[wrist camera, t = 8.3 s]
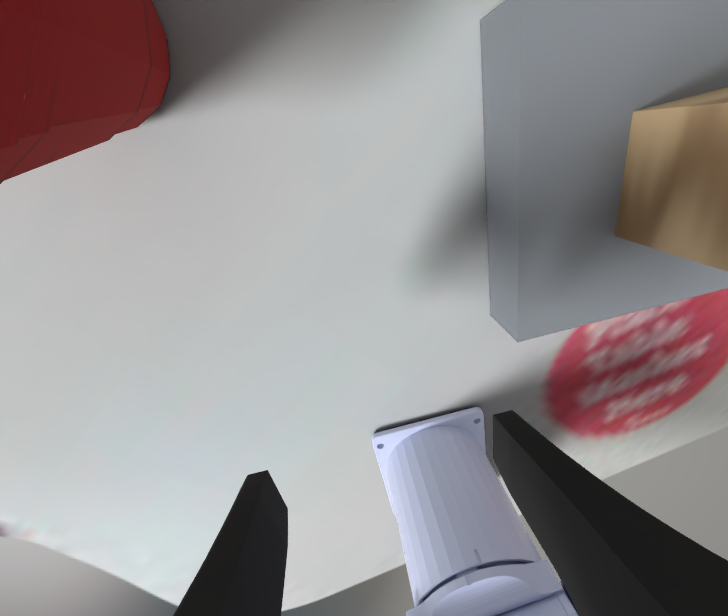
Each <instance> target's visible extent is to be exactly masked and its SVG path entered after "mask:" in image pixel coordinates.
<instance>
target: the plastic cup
mask: <svg viewBox="0 0 728 616" xmlns="http://www.w3.org/2000/svg"><path fill="white" fill-rule="evenodd" d="M169 78H170V65H169V52H168V40H167V38H166V34H165V31H164V29H163V26H162V24H161V21H160V19H159V16H158V14H157V12H156V9H155V7H154V4H153V2H152V0H0V184H1V183H2V182H3V181H4V180H7V179H9V178H12V177H14V176H17V175H20V174H22V173H25V172H27V171H30V170H33V169H35V168H38V167H40V166H43V165H45V164H48V163H51V162H53V161H56V160H58V159H61V158H64V157H66V156H69V155H71V154H74V153H77V152H79V151H82V150H84V149H87V148H90V147H92V146H95V145H97V144H100V143H103V142H105V141H108V140H110V139H111V138H112V137H113V136H114V135H115V134H117V133H120V132H124V131H127V130H130V129H133V128H136V127H138V126H139V125H140V124H141V123H143V122H144V121H145V120H146V119H147V118H148V117H149V116H150V115H151V114H152V113H153V112H154V111H155V110H156V109H157V108H158V107H159V106H160V105H161V103H162V100H163V97H164V94H165V91H166V87H167V84H168V81H169Z"/></svg>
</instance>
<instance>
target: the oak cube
mask: <svg viewBox="0 0 728 616" xmlns="http://www.w3.org/2000/svg"><path fill="white" fill-rule="evenodd" d="M615 236H616V237H619V238H622V239H626V240H629V241H632V242H635V243H638V244H641V245H645V246H648V247H651V248H654V249H657V250H660V251H664V252H667V253H670V254H673V255H676V256H679V257H682V258H686V259H689V260H692V261H695V262H698V263H701V264H705V265H708V266H711V267H714V268H717V269H720V270H723V271H727V272H728V87H727V88H723V89H719V90H715V91H711V92H707V93H703V94H699V95H695V96H692V97H688V98H684V99H680V100H676V101H672V102H668V103H664V104H661V105H657V106H653V107H649V108H645V109H641V110H637V111H633V115H632V122H631V128H630V135H629V142H628V149H627V155H626V162H625V169H624V176H623V183H622V189H621V196H620V203H619V210H618V217H617V223H616V230H615Z"/></svg>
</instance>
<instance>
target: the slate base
mask: <svg viewBox="0 0 728 616" xmlns="http://www.w3.org/2000/svg"><path fill="white" fill-rule="evenodd" d="M480 29H481V57H482V86H483V115H484V144H485V172H486V201H487V230H488V258H489V287H490V315H491V316H492V317H493V318H494V319H495V320H496V321H497V322H498V323H499V324H500V325H501V326H502V327H503V328H504V329H505V330H506V331H507V332H508V333H509V334H510V335H511V336H512V337H513V338H514V339H515V340H516V341H517V342H520V341H524V340H528V339H532V338H536V337H540V336H544V335H548V334H552V333H555V332H559V331H563V330H567V329H571V328H575V327H579V326H583V325H586V324H590V323H594V322H598V321H602V320H606V319H610V318H614V317H618V316H621V315H625V314H629V313H633V312H637V311H641V310H645V309H649V308H652V307H656V306H660V305H664V304H668V303H672V302H676V301H680V300H684V299H687V298H691V297H695V296H699V295H703V294H707V293H711V292H715V291H719V290H722V289H726V288H728V272H727V271H723V270H720V269H717V268H714V267H711V266H708V265H705V264H701V263H698V262H695V261H692V260H689V259H686V258H682V257H679V256H676V255H673V254H670V253H667V252H664V251H660V250H657V249H654V248H651V247H648V246H645V245H641V244H638V243H635V242H632V241H629V240H626V239H622V238H619V237H616V236H615V230H616V223H617V217H618V210H619V203H620V196H621V189H622V183H623V176H624V169H625V162H626V155H627V149H628V142H629V135H630V128H631V122H632V115H633V111H637V110H641V109H645V108H649V107H653V106H657V105H661V104H664V103H668V102H672V101H676V100H680V99H684V98H688V97H692V96H695V95H699V94H703V93H707V92H711V91H715V90H719V89H723V88H727V87H728V0H506V1H505V2H504V3H502V4H501V5H500V6H498V7H497V8H496V9H494V10H493V11H492V12H490V13H489V14H488V15H486V16H485V17H484V18H482V19H481V20H480Z"/></svg>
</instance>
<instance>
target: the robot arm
mask: <svg viewBox="0 0 728 616" xmlns="http://www.w3.org/2000/svg"><path fill="white" fill-rule="evenodd" d="M372 444H373V447H374V451H375V454H376V457H377V461H378V464H379V467H380V470H381V474H382V477H383V480H384V484H385V487H386V490H387V494H388V497H389V500H390V504H391V507H392V510H393V513H394V514H396V519H397V524H398V529H399V533H400V538H401V543H402V548H403V552H404V557H405V562H406V566H407V571H408V576H409V581H410V586H411V590H412V595H413V600H414V605H415V608H414V609H411V610H409V611H407V612H406V615H407V616H728V561H727V560H726V559H724V558H722V557H720V556H718V555H717V554H715V553H713V552H711V551H710V550H708V549H706V548H704V547H703V546H701V545H699V544H698V543H696V542H694V541H693V540H691V539H690V538H688V537H686V536H684V535H683V534H681V533H680V532H678V531H676V530H675V529H673V528H671V527H670V526H668V525H667V524H665V523H663V522H662V521H660V520H659V519H657V518H656V517H654V516H653V515H651V514H649V513H648V512H646V511H645V510H643V509H641V508H640V507H639V506H637V505H636V504H634V503H633V502H631V501H630V500H628V499H627V498H625V497H624V496H622V495H621V494H620V493H618V492H617V491H615V490H614V489H613V488H611V487H610V486H608V485H607V484H605V483H604V482H602V481H601V480H600V479H598V478H597V477H596V476H594V475H593V474H592V473H590V472H589V471H588V470H586V469H585V468H584V467H582V466H581V465H580V464H578V463H577V462H576V461H574V460H573V459H572V458H570V457H569V456H568V455H566V454H565V453H564V452H563V451H561V450H560V449H559V448H558V447H556V446H555V445H554V444H553V443H551V442H550V441H549V440H548V439H546V438H545V437H544V436H543V435H541V434H540V433H539V432H538V431H537V430H535V429H534V428H533V427H532V426H531V425H529V424H528V423H527V422H526V421H525V420H523V419H522V418H521V417H520V416H519V415H518V414H516V413H515V412H514V411H512V410H511V411H507V412H503V413H499V414H495V415H493V458H494V460H495V462H496V465H497V467H498V469H499V471H500V473H501V476H502V478H503V480H504V482H505V484H506V486H507V488H508V490H509V492H510V494H511V496H512V497H513V499H514V501H515V502H516V504H517V506H518V507H519V509H520V511H521V513H522V514H523V516H524V518H525V519H526V521H527V523H528V524H529V526H530V528H531V529H532V531H533V532H534V534H535V536H536V538H537V539H538V541H539V543H540V544H541V546H542V548H543V549H544V551H545V553H546V555H547V556H548V558H549V559H550V561H551V563H552V564H553V566H554V568H555V570H556V571H557V573H558V575H559V577H560V579H561V585H562V587H563V588H562V587H561V585H560V583H559V581H558V579H557V578H556V576H555V574H554V572H553V570H552V568H551V567H550V565H549V563H548V561H547V560H545V559H543V560H542V558H541V556H540V555H539V553H538V551H537V549H536V547H535V545H534V544H533V542H532V540H531V538H530V536H529V534H528V532H527V531H526V529H525V527H524V525H523V523H522V521H521V519H520V517H519V516H518V514H517V512H516V510H515V508H514V506H513V504H512V503H511V501H510V499H509V497H508V495H507V493H506V491H505V490H504V488H503V486H502V484H501V482H500V480H499V478H498V477H497V475H496V473H495V471H494V469H493V467H492V466H491V464H490V462H489V460H488V458H487V456H486V449H485V431H484V414H483V411H482V410H481V408H479V407H474V408H470V409H466V410H462V411H458V412H454V413H450V414H447V415H443V416H439V417H435V418H431V419H427V420H424V421H420V422H416V423H412V424H408V425H404V426H400V427H397V428H393V429H389V430H385V431H381V432H377V433H375V434H374V435H372ZM287 548H288V508H287V506H286V505H285V503H284V501H283V499H282V497H281V495H280V493H279V491H278V489H277V487H276V485H275V484H274V482H273V480H272V478H271V476H270V474H269V472H268V470H266V471H262V472H258V473H254V474H250V475H248V476H247V477H246V479H245V481H244V483H243V485H242V487H241V489H240V491H239V493H238V496H237V498H236V500H235V502H234V504H233V506H232V508H231V510H230V512H229V514H228V516H227V518H226V520H225V522H224V524H223V526H222V528H221V530H220V532H219V534H218V536H217V538H216V539H215V541H214V543H213V545H212V547H211V549H210V551H209V553H208V555H207V557H206V559H205V560H204V562H203V564H202V566H201V568H200V570H199V571H198V573H197V575H196V577H195V578H194V580H193V582H192V584H191V585H190V587H189V589H188V591H187V592H186V594H185V596H184V598H183V599H182V601H181V603H180V605H179V606H178V608H177V610H176V612H175V613H174V615H173V616H281V608H282V598H283V589H284V579H285V569H286V559H287ZM563 590H564V591H563Z"/></svg>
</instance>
